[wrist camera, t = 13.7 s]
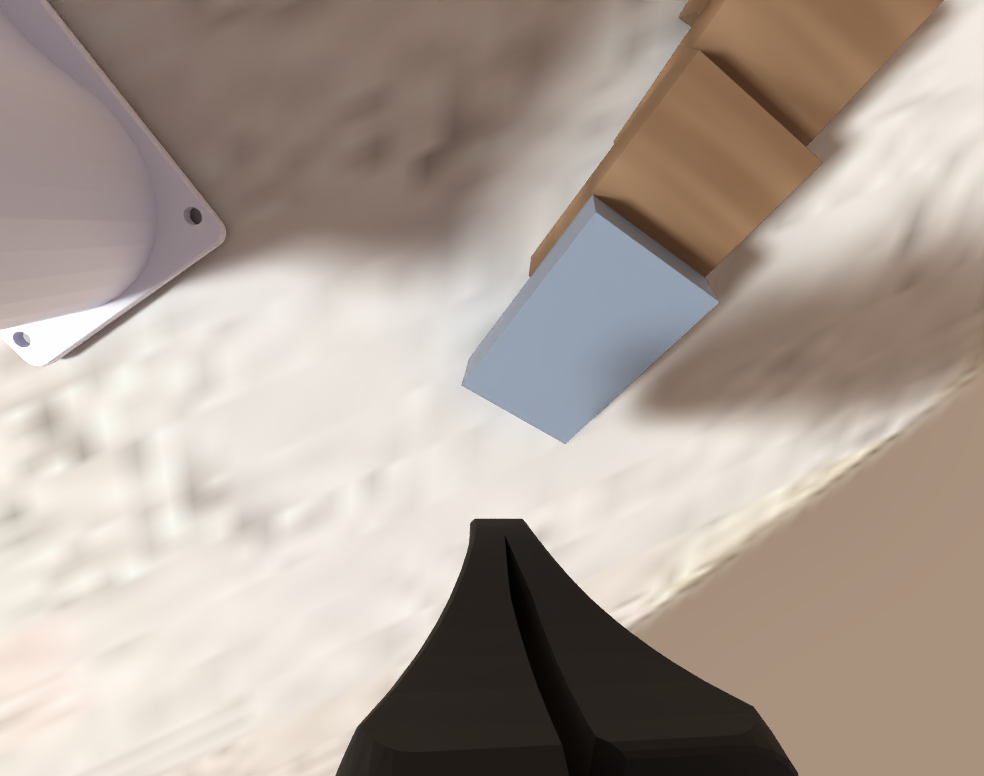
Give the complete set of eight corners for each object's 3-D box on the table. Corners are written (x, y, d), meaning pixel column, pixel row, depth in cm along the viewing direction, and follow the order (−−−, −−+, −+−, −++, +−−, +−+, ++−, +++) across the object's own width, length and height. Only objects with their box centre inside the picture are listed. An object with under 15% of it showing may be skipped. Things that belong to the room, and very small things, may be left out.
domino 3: (727, 230, 15) (960, -18, 11) (618, 153, 14) (831, -152, 10) (714, 213, 17) (920, -16, 12) (613, 141, 15) (801, -135, 11)
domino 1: (633, 346, 16) (822, 162, 12) (528, 275, 15) (699, 50, 11) (628, 322, 18) (798, 149, 14) (531, 256, 16) (685, 47, 12)
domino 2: (565, 444, 17) (719, 301, 13) (461, 385, 16) (595, 211, 12) (565, 415, 18) (705, 278, 15) (468, 359, 17) (592, 194, 13)
